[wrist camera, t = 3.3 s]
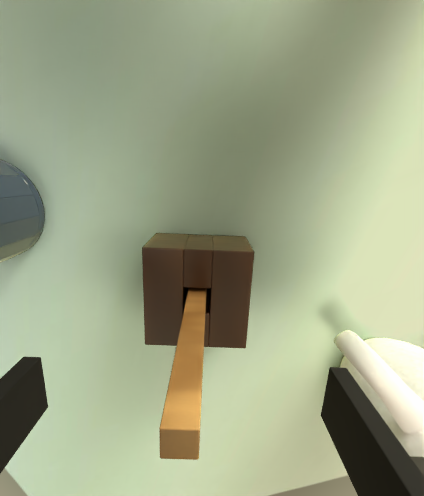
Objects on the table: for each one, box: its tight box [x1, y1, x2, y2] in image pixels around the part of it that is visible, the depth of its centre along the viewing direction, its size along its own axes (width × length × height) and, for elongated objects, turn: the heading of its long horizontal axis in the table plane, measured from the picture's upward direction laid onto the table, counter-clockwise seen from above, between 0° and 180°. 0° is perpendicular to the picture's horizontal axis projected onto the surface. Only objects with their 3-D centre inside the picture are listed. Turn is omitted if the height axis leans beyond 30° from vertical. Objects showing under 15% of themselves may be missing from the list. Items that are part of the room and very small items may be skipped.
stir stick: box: [160, 287, 207, 460], centre depth 17 cm, size 1×1×16 cm
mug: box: [334, 330, 424, 457], centre depth 21 cm, size 15×11×13 cm
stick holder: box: [142, 233, 254, 348], centre depth 22 cm, size 8×8×5 cm
